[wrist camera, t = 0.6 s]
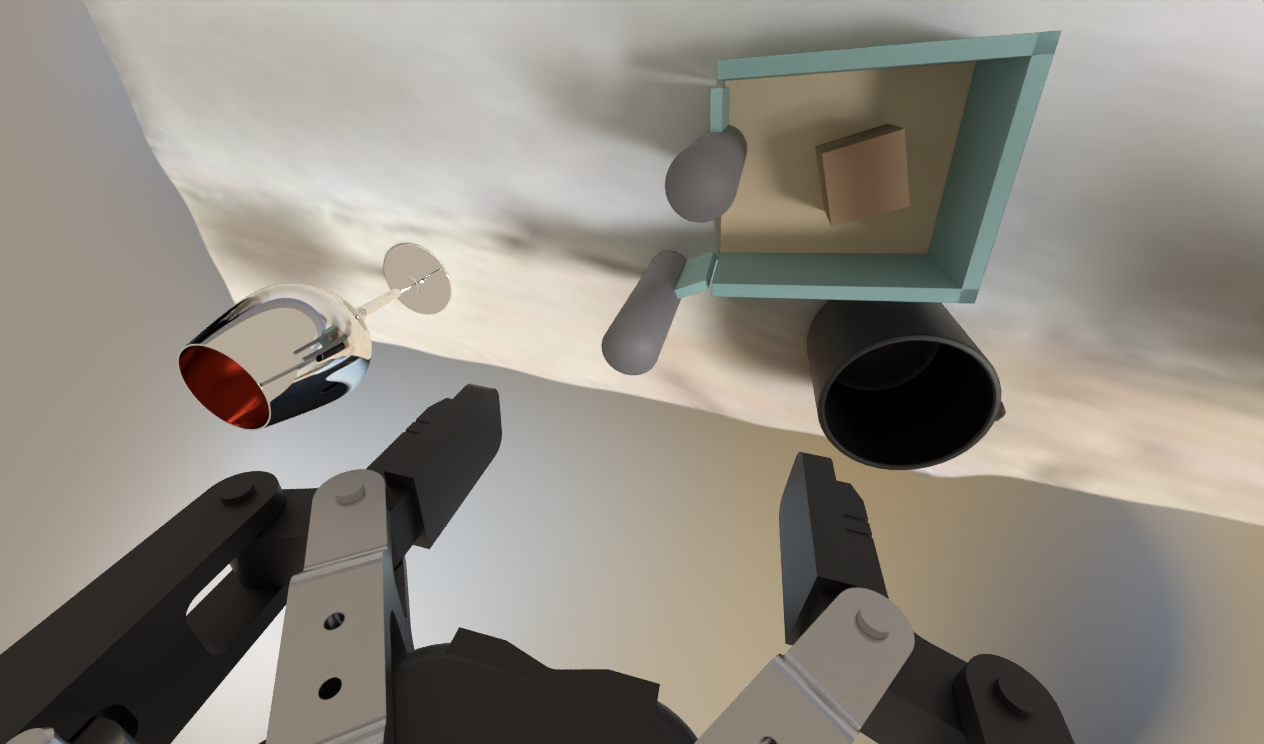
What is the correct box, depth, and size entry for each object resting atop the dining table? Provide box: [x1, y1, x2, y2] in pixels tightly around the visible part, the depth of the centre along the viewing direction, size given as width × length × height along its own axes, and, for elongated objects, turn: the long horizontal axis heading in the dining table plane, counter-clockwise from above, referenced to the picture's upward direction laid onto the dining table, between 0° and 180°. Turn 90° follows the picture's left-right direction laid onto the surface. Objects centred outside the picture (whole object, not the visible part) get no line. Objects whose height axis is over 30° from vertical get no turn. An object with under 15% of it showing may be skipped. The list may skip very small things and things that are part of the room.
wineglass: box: [177, 244, 452, 431], centre depth 34 cm, size 8×8×18 cm
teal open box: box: [712, 30, 1062, 303], centre depth 27 cm, size 14×12×7 cm
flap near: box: [665, 87, 747, 222], centre depth 25 cm, size 3×5×13 cm, turn 3°
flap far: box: [602, 251, 717, 375], centre depth 29 cm, size 3×5×13 cm, turn 113°
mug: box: [807, 299, 1006, 470], centre depth 31 cm, size 9×12×9 cm
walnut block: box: [815, 124, 910, 226], centre depth 28 cm, size 4×4×4 cm
